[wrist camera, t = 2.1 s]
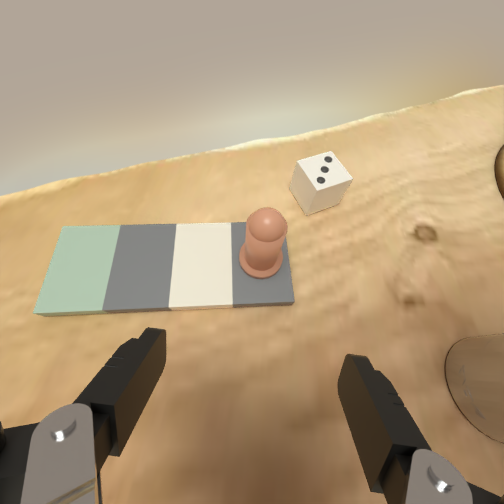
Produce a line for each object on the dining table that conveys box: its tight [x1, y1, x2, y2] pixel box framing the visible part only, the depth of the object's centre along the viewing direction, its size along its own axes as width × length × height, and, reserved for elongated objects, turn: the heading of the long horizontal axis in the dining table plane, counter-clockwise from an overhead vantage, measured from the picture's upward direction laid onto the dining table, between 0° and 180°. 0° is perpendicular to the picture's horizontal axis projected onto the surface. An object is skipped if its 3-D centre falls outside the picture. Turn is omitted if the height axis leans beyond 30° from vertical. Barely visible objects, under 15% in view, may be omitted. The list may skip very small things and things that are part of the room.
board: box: [33, 222, 295, 316], centre depth 27 cm, size 26×10×2 cm, turn 93°
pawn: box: [239, 207, 287, 279], centre depth 23 cm, size 5×5×9 cm
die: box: [289, 151, 353, 216], centre depth 31 cm, size 5×5×5 cm
